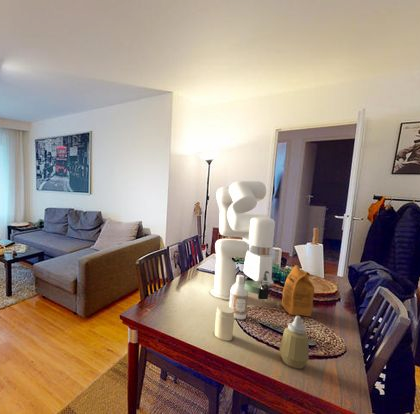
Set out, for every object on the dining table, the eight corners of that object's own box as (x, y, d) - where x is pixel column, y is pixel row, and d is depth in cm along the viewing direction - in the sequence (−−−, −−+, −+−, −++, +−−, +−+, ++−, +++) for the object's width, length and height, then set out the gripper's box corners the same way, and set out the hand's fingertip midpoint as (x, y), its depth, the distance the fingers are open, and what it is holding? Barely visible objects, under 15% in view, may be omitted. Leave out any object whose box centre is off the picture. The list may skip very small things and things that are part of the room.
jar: (221, 329, 118) (223, 303, 117) (235, 337, 113) (238, 310, 111) (211, 333, 116) (213, 307, 114) (225, 342, 110) (228, 314, 108)
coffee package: (302, 306, 137) (307, 264, 134) (314, 319, 126) (320, 273, 122) (278, 303, 141) (282, 262, 138) (287, 315, 129) (292, 271, 126)
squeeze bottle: (272, 356, 102) (277, 311, 99) (292, 354, 102) (298, 309, 100) (292, 372, 94) (298, 323, 91) (314, 370, 94) (320, 322, 92)
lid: (271, 295, 101) (271, 289, 100) (247, 292, 103) (248, 286, 103) (264, 287, 108) (264, 281, 107) (242, 284, 110) (242, 279, 110)
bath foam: (230, 318, 127) (234, 277, 124) (226, 311, 134) (230, 272, 131) (248, 321, 125) (251, 279, 122) (243, 313, 131) (246, 273, 129)
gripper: (236, 243, 112) (233, 284, 115) (264, 256, 95) (259, 304, 98) (256, 243, 112) (252, 284, 114) (287, 257, 95) (282, 305, 97)
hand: (255, 293), depth 106 cm, fingers closed on lid, 7 cm apart
